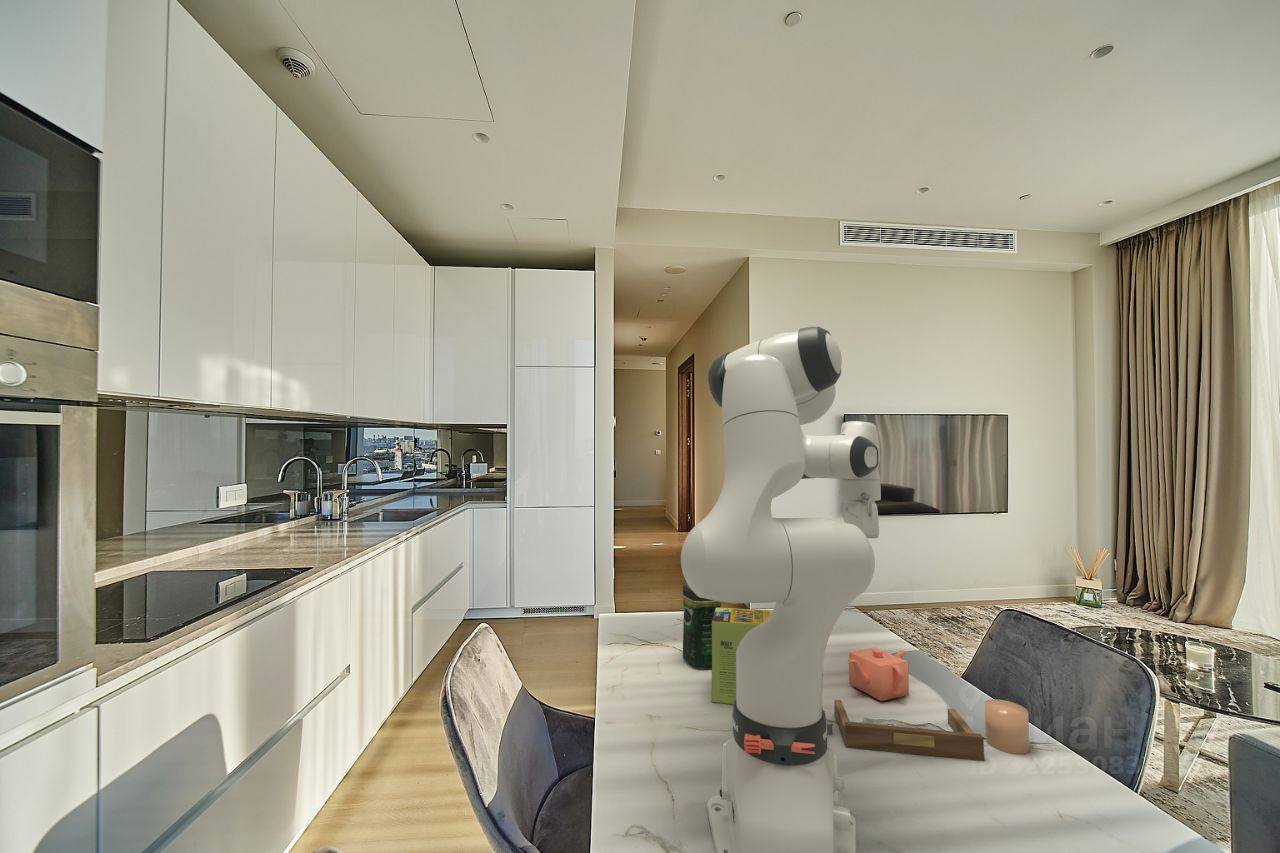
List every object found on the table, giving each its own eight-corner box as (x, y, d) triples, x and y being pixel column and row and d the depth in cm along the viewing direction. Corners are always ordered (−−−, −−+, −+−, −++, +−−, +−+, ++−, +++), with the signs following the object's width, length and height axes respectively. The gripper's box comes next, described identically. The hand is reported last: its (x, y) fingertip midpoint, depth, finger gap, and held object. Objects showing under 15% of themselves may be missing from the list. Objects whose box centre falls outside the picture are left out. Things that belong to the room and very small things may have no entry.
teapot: (828, 686, 112) (827, 645, 112) (883, 675, 117) (882, 636, 118) (872, 712, 101) (871, 666, 101) (931, 698, 106) (930, 655, 107)
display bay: (984, 761, 84) (984, 738, 85) (846, 747, 88) (846, 725, 88) (955, 723, 96) (954, 703, 96) (834, 713, 100) (834, 694, 100)
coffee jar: (727, 668, 121) (726, 583, 122) (694, 672, 119) (694, 586, 120) (708, 653, 130) (708, 574, 131) (678, 656, 128) (678, 576, 129)
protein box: (794, 710, 101) (793, 626, 102) (711, 703, 104) (710, 620, 105) (790, 687, 111) (789, 610, 112) (714, 680, 115) (714, 606, 115)
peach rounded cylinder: (1037, 756, 86) (1035, 717, 86) (995, 752, 87) (994, 714, 87) (1018, 737, 92) (1017, 700, 92) (979, 733, 93) (978, 697, 93)
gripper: (886, 495, 114) (887, 562, 113) (864, 488, 134) (865, 545, 134) (854, 495, 115) (855, 560, 115) (837, 488, 135) (838, 544, 135)
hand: (860, 552), depth 124 cm, fingers closed
